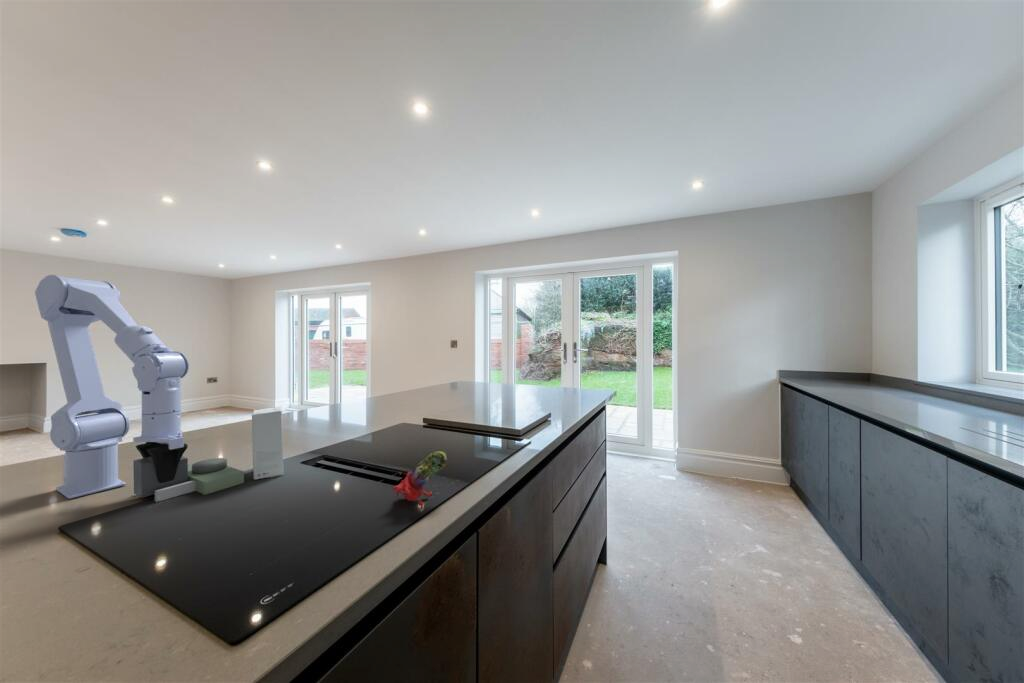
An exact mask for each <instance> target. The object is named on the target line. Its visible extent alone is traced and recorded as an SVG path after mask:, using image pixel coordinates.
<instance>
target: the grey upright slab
mask: <svg viewBox="0 0 1024 683" xmlns="http://www.w3.org/2000/svg"><path fill="white" fill-rule="evenodd" d="M188 460H189V459H188V457H185V456H183V455H182V457H181V459H180V461H179V464H178V468H177V471H176V475H175V478H174V480H171V481H168V482H164V483H159V481H158V478H157V474H156V468H155V464H154V461H153V459H152V457H147V458H143V457H142V458H139V459H134V460H133V468H132V469H133V494H134V495H136V496H137V497H139V498H145V497H150V496H152V495H155V490H159V489H163V488H166V487H170V486H174V485H178V484H181V483H185V482H188V464H189V462H188Z"/></svg>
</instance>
